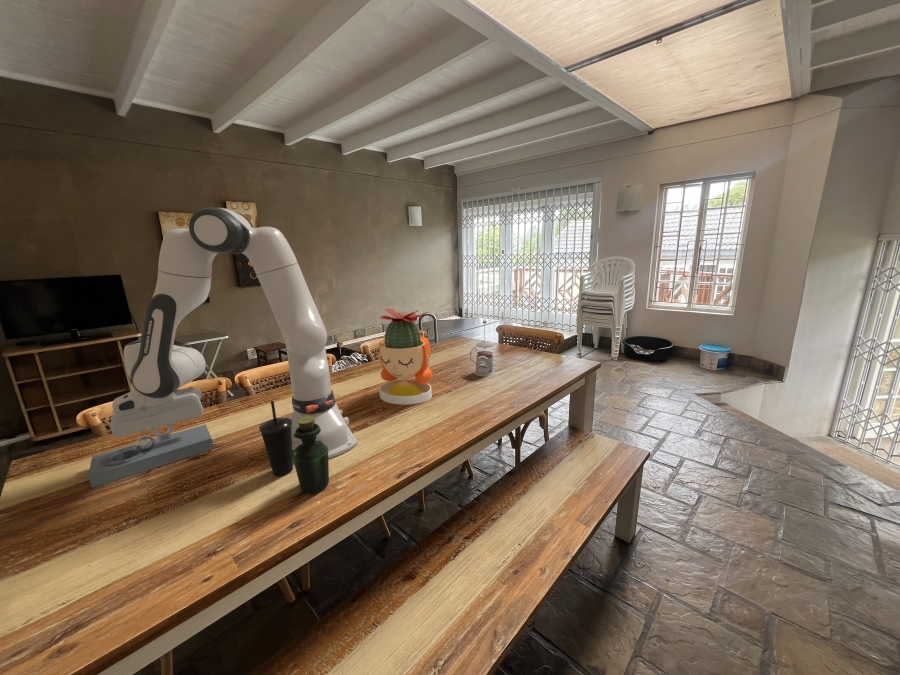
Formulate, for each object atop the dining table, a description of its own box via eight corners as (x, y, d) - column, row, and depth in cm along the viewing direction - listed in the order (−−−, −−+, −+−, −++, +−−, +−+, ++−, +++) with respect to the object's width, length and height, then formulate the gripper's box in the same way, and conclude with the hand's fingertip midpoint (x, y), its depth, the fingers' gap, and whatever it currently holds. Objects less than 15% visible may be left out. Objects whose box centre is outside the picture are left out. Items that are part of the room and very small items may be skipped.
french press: (496, 376, 158) (496, 322, 152) (470, 376, 158) (470, 322, 152) (493, 369, 168) (494, 318, 162) (469, 369, 168) (469, 318, 162)
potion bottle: (336, 474, 91) (328, 411, 86) (326, 496, 83) (317, 427, 78) (304, 476, 91) (295, 412, 86) (291, 497, 83) (281, 428, 78)
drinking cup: (278, 483, 88) (266, 410, 83) (261, 474, 92) (248, 403, 87) (304, 467, 94) (295, 399, 89) (287, 459, 98) (277, 393, 93)
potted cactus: (422, 407, 129) (418, 314, 120) (369, 400, 136) (362, 311, 127) (442, 386, 148) (439, 304, 140) (395, 381, 155) (390, 303, 147)
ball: (131, 448, 95) (146, 454, 97) (144, 436, 96) (158, 442, 98) (131, 442, 98) (145, 448, 100) (144, 430, 99) (158, 437, 101)
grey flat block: (207, 434, 113) (205, 424, 112) (213, 448, 104) (211, 438, 103) (95, 467, 96) (92, 456, 96) (91, 488, 88) (87, 476, 87)
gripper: (198, 382, 107) (206, 423, 110) (105, 401, 94) (118, 447, 97) (200, 387, 102) (209, 430, 105) (104, 409, 89) (117, 457, 92)
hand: (165, 439), depth 101 cm, fingers closed
